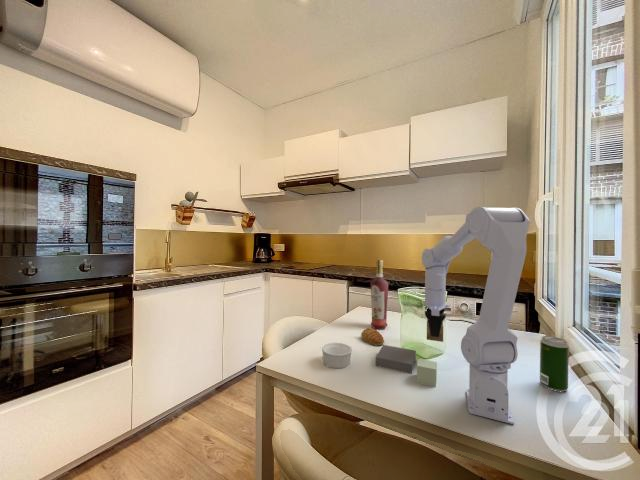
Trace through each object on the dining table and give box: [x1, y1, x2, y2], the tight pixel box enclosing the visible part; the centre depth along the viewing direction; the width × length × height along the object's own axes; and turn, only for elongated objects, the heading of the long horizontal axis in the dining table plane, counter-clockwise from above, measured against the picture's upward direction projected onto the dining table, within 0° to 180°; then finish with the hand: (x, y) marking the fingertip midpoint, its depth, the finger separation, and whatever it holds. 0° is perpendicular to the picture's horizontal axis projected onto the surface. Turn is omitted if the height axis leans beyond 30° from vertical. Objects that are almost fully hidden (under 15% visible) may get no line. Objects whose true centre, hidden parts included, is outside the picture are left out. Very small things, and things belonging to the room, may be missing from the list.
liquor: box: [370, 259, 389, 330], centre depth 112 cm, size 7×7×28 cm
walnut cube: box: [426, 319, 444, 343], centre depth 81 cm, size 4×4×4 cm
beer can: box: [539, 335, 570, 393], centre depth 68 cm, size 5×5×12 cm
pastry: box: [360, 327, 385, 347], centre depth 97 cm, size 9×7×4 cm
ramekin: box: [321, 342, 353, 369], centre depth 80 cm, size 9×9×4 cm
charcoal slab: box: [375, 344, 417, 374], centre depth 80 cm, size 10×10×3 cm
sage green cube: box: [416, 358, 438, 388], centre depth 70 cm, size 4×4×4 cm
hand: (434, 333), depth 81 cm, fingers closed on walnut cube, 4 cm apart
